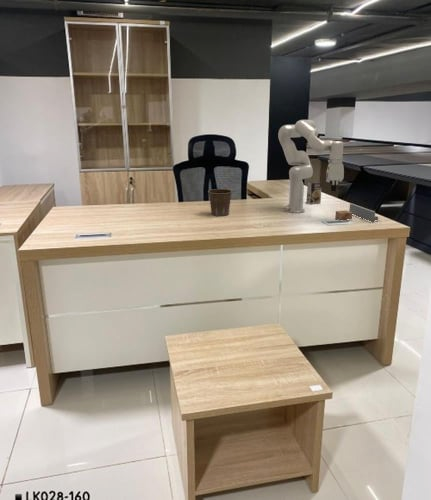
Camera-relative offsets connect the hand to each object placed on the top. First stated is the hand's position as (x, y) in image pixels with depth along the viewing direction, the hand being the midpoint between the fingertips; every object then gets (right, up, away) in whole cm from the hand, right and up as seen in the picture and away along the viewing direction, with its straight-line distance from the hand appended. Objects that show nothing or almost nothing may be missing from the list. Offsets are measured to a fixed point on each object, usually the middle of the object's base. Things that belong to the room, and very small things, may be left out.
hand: (333, 191), depth 269 cm
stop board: (+23, -16, +12) cm, 30 cm away
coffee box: (0, -2, +57) cm, 57 cm away
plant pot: (-72, -13, +22) cm, 76 cm away
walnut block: (+9, -17, +8) cm, 21 cm away
